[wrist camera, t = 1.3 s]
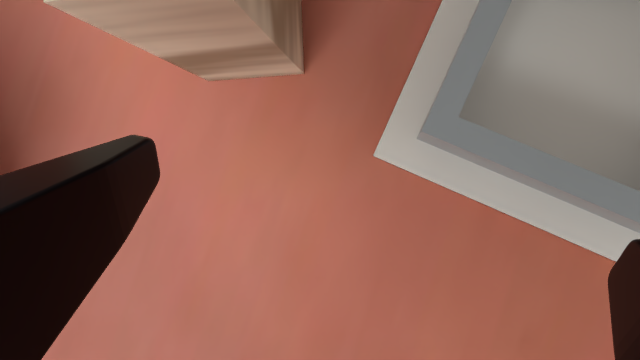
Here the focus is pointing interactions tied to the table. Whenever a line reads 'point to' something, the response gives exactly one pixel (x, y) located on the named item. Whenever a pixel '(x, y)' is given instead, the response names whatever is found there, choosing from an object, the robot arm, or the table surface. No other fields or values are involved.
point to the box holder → (530, 114)
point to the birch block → (205, 33)
